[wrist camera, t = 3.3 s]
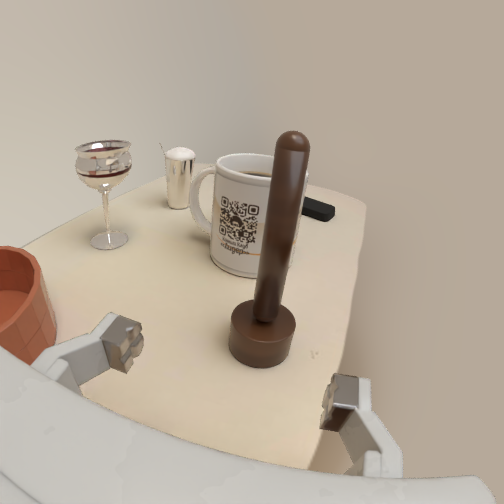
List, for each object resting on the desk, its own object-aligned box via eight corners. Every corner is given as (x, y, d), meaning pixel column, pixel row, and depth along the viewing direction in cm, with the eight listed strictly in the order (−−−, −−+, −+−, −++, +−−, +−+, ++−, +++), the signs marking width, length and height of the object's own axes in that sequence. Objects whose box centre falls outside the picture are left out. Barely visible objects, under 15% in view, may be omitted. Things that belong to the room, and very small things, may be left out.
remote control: (335, 216, 53) (260, 188, 59) (337, 207, 52) (262, 180, 58) (325, 225, 50) (246, 195, 55) (328, 215, 49) (247, 185, 55)
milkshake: (157, 201, 49) (157, 140, 44) (189, 199, 51) (192, 139, 46) (161, 212, 46) (161, 146, 41) (195, 209, 48) (199, 145, 43)
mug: (227, 289, 32) (237, 182, 26) (185, 235, 41) (188, 150, 35) (308, 267, 37) (328, 177, 32) (255, 224, 46) (264, 148, 40)
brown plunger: (288, 372, 24) (345, 146, 15) (224, 363, 24) (247, 130, 15) (289, 329, 28) (331, 132, 19) (233, 321, 28) (255, 120, 20)
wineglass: (100, 224, 41) (95, 139, 35) (143, 231, 40) (141, 140, 34) (74, 248, 35) (62, 152, 29) (119, 257, 34) (112, 153, 28)
